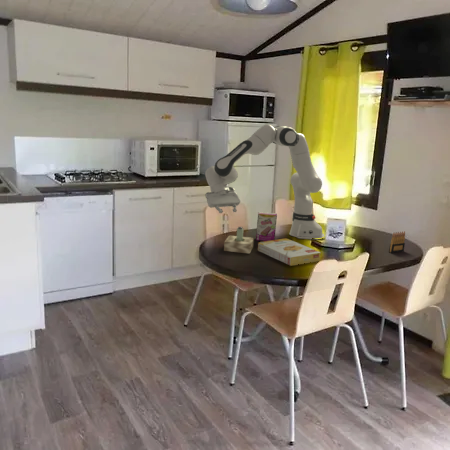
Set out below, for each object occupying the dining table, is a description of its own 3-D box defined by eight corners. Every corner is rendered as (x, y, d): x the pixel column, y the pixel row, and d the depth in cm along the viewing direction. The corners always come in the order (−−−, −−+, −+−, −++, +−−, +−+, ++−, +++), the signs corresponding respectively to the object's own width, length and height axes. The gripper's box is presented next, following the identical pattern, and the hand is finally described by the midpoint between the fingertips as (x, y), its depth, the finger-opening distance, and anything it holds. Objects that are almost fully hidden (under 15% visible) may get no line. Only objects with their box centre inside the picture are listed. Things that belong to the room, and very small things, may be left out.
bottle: (242, 248, 245) (244, 226, 242) (241, 249, 241) (243, 228, 239) (236, 247, 245) (237, 226, 243) (235, 249, 242) (236, 227, 239)
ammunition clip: (391, 253, 252) (394, 232, 250) (388, 252, 254) (391, 231, 251) (403, 251, 258) (407, 231, 255) (401, 250, 259) (404, 230, 257)
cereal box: (286, 237, 252) (321, 251, 229) (285, 246, 253) (320, 261, 230) (257, 241, 241) (291, 256, 218) (256, 251, 242) (291, 267, 219)
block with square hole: (253, 246, 249) (253, 238, 248) (249, 253, 235) (250, 244, 234) (228, 243, 251) (229, 235, 250) (223, 250, 238) (224, 241, 237)
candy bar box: (255, 240, 261) (257, 213, 257) (255, 238, 266) (258, 211, 262) (274, 242, 260) (277, 214, 257) (274, 240, 265) (277, 213, 261)
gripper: (206, 189, 246) (215, 210, 241) (236, 188, 258) (245, 207, 252) (201, 195, 251) (210, 216, 245) (231, 194, 262) (240, 213, 257)
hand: (228, 212), depth 249 cm, fingers open, 8 cm apart
